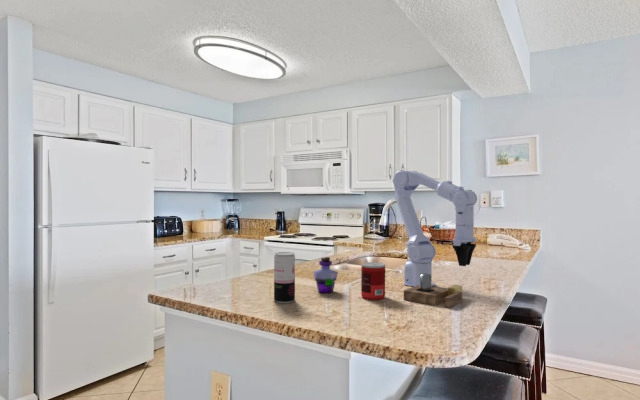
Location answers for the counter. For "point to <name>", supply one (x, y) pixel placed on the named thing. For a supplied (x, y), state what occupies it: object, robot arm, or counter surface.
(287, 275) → the beverage can
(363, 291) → the canned food
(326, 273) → the potion bottle
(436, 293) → the mount
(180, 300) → the counter surface
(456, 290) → the khaki rectangular plank
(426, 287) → the peg
